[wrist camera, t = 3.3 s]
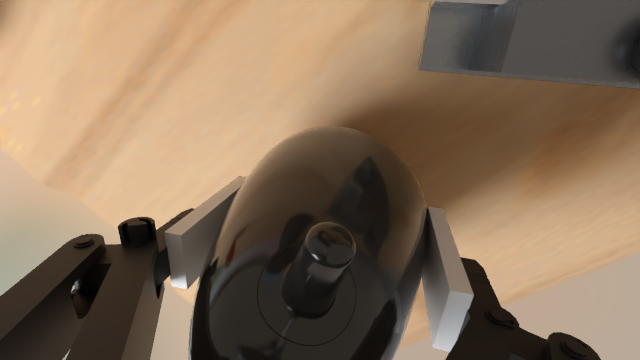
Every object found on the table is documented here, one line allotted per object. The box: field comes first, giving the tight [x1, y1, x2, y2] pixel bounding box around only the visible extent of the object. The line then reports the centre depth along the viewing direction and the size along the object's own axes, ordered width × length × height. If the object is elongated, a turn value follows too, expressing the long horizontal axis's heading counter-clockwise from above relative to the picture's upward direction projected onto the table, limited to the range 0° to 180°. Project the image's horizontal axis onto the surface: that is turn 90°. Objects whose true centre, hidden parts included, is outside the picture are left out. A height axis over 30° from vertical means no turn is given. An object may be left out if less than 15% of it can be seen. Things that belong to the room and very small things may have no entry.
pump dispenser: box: [188, 126, 428, 360], centre depth 14 cm, size 10×10×15 cm
